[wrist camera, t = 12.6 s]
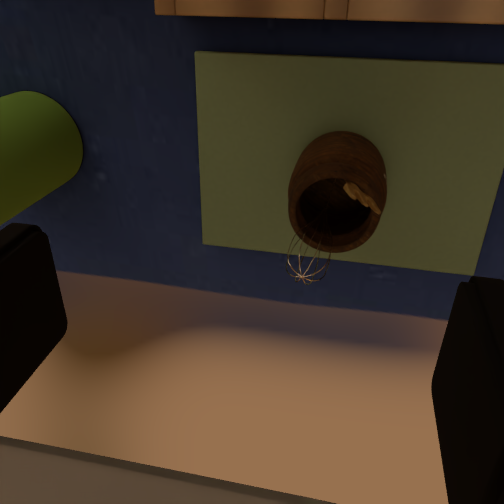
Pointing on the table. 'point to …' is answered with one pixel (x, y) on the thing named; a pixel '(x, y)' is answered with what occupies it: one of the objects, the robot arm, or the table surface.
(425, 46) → the table surface
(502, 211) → the table surface
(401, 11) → the frame
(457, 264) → the desk mat
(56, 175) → the tumbler
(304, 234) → the utensil holder
